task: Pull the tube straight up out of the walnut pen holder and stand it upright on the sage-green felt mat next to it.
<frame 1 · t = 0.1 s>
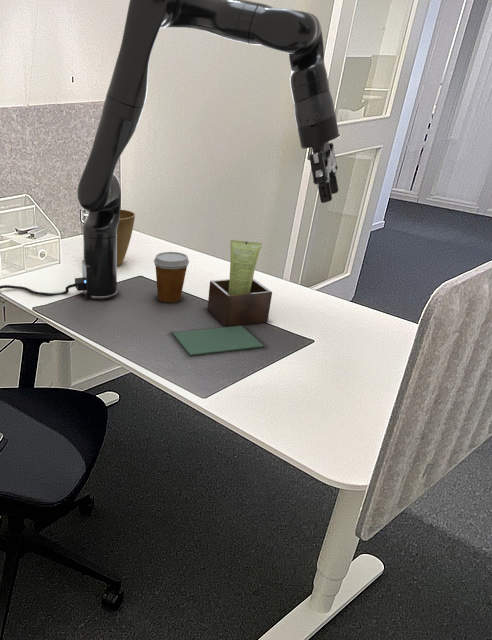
hand: (330, 197, 124), 31 cm above the table, tool tilted 20°, fingers open, 8 cm apart
disposable coffee cup: (169, 299, 160), on the table
felt mat: (216, 340, 136), on the table
tube: (236, 316, 149), resting in pen holder
pen holder: (236, 315, 149), on the table
plant pot: (111, 263, 188), on the table
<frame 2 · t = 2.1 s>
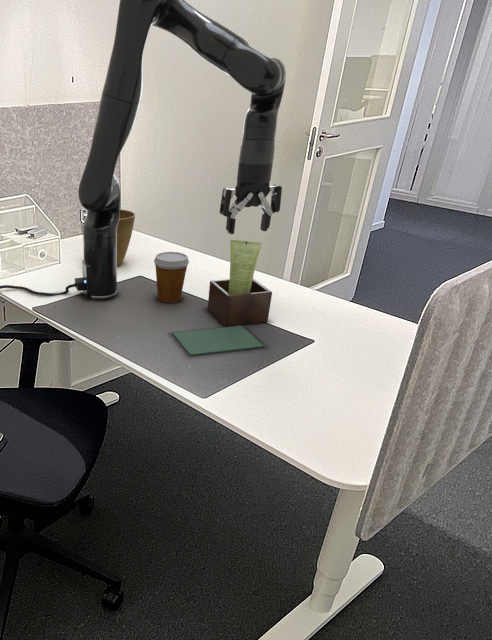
hand: (247, 232, 138), 22 cm above the table, tool pointing down, fingers open, 8 cm apart
nothing on the table moved.
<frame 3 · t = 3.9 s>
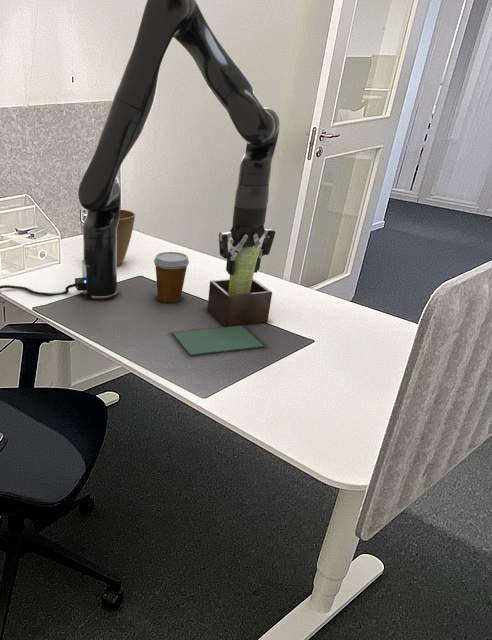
hand: (242, 272, 143), 12 cm above the table, tool pointing down, fingers closed on tube, 5 cm apart
tube: (236, 316, 149), resting in pen holder, touching gripper
everything else where it was.
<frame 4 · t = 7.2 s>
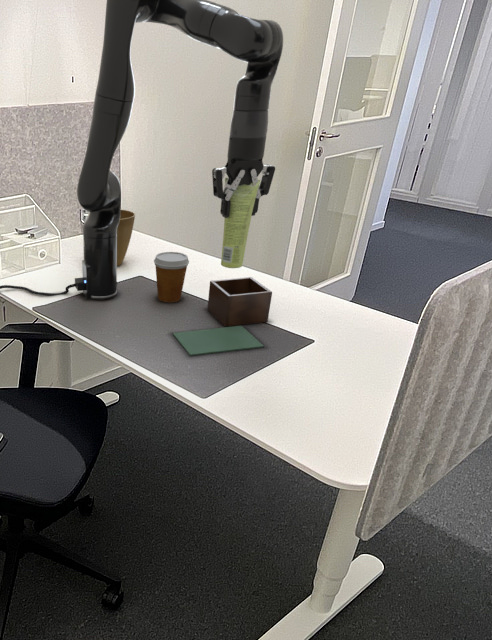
hand: (238, 215, 128), 27 cm above the table, tool pointing down, fingers closed on tube, 5 cm apart
tube: (232, 266, 134), point 16 cm above the table, touching gripper
everything else where it was.
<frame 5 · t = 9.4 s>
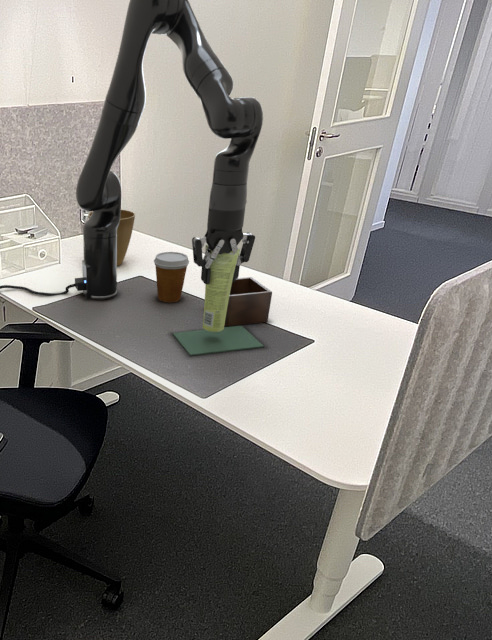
hand: (219, 281, 128), 15 cm above the table, tool pointing down, fingers closed on tube, 5 cm apart
tube: (213, 329, 134), point 3 cm above the table, touching gripper
everything else where it was.
when the fingers open (12 cm above the table, at t = 10.8 s): tube stays where it is, resting on felt mat.
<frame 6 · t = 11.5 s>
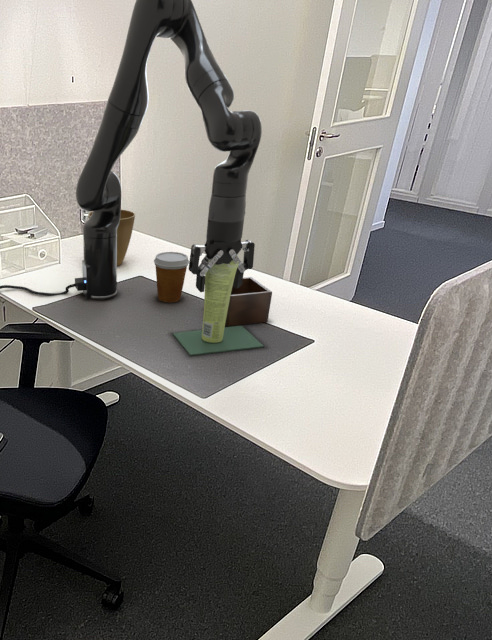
hand: (218, 289, 129), 13 cm above the table, tool pointing down, fingers open, 8 cm apart
tube: (212, 340, 136), resting on felt mat
everything else where it was.
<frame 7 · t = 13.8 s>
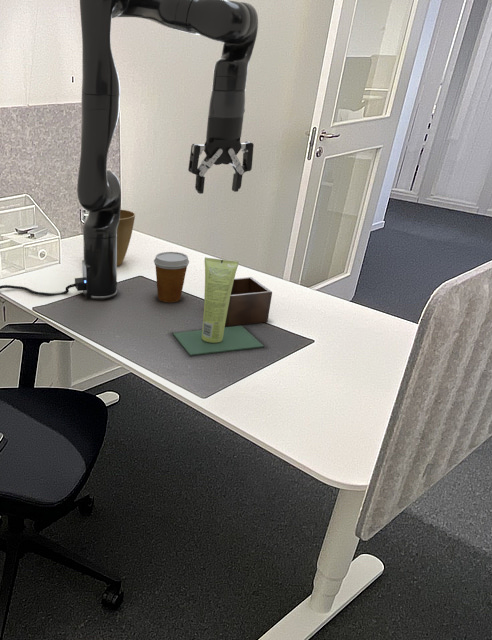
hand: (217, 192, 132), 31 cm above the table, tool pointing down, fingers open, 8 cm apart
nothing on the table moved.
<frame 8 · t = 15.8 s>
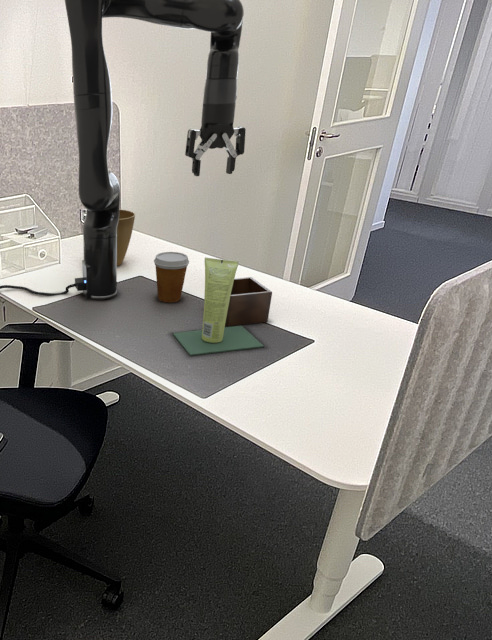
hand: (212, 174, 141), 33 cm above the table, tool pointing down, fingers open, 8 cm apart
nothing on the table moved.
at the end: tube inside the target area (0.1 cm from its centre), resting on felt mat; tube tilted 0°; the gripper is holding nothing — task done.
